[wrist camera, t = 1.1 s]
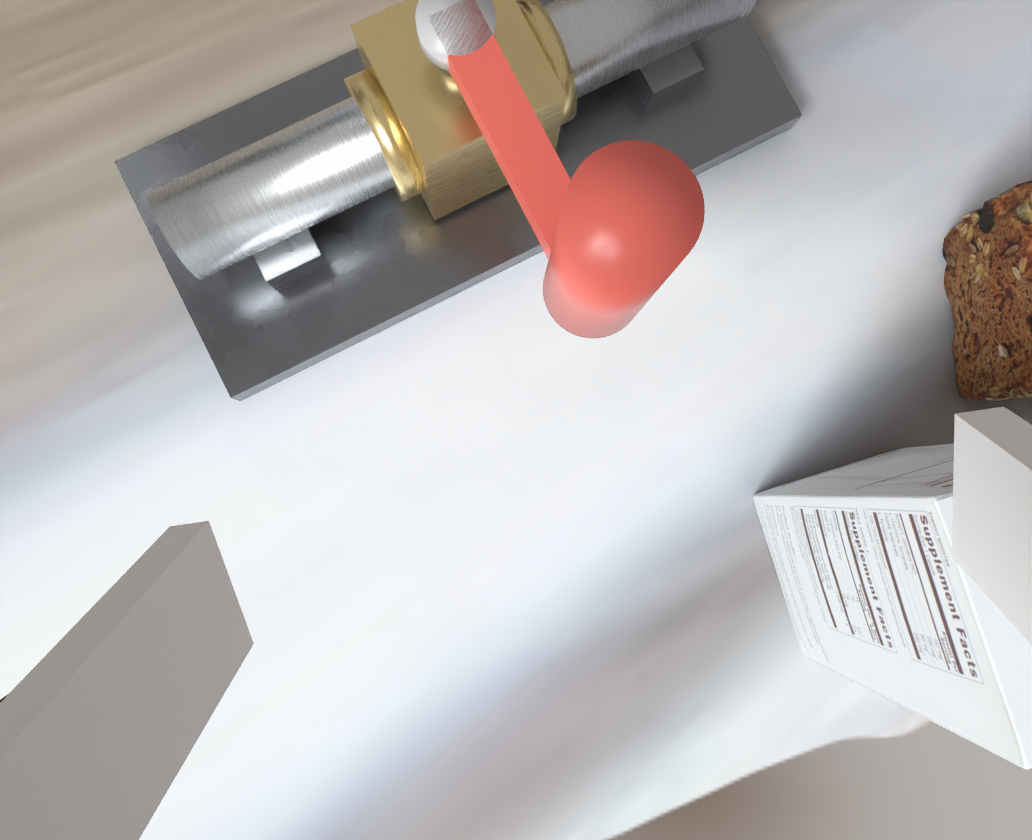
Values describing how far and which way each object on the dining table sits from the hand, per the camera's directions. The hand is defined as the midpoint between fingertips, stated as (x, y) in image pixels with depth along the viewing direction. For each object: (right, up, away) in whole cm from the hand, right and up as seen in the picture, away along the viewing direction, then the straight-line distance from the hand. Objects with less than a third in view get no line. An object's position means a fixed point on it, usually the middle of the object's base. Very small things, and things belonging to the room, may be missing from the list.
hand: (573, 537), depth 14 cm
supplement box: (+17, -5, +28) cm, 33 cm away
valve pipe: (-4, +17, +29) cm, 34 cm away
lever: (-1, +12, +18) cm, 22 cm away
